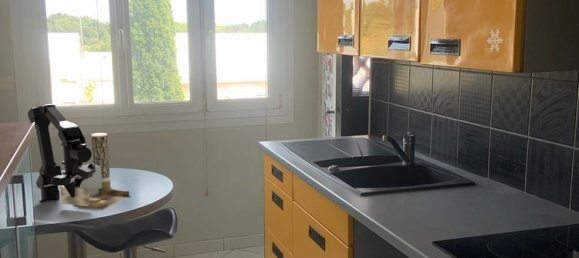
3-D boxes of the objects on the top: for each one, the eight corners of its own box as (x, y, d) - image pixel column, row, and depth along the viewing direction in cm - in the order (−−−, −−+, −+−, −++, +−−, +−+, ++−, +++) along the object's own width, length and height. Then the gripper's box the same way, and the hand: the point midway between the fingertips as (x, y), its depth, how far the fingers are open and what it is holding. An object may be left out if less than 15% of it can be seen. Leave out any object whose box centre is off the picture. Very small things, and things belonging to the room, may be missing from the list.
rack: (72, 207, 238) (72, 201, 238) (101, 194, 257) (100, 188, 256) (102, 210, 234) (102, 204, 234) (129, 197, 253) (129, 190, 252)
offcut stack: (74, 205, 238) (73, 198, 238) (80, 202, 242) (79, 195, 242) (102, 208, 235) (101, 201, 234) (108, 205, 239) (107, 198, 238)
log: (105, 191, 261) (102, 136, 256) (91, 191, 262) (88, 135, 257) (113, 187, 267) (110, 133, 263) (99, 186, 268) (96, 132, 264)
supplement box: (103, 193, 257) (101, 165, 255) (87, 197, 252) (85, 168, 250) (94, 190, 262) (92, 163, 260) (78, 194, 257) (76, 166, 255)
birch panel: (61, 203, 234) (59, 186, 233) (63, 202, 236) (62, 185, 235) (87, 206, 231) (86, 188, 230) (89, 205, 233) (88, 187, 231)
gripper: (74, 165, 219) (77, 205, 222) (103, 154, 237) (106, 192, 239) (49, 163, 222) (52, 203, 225) (80, 152, 240) (82, 189, 243)
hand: (74, 196), depth 233 cm, fingers closed on birch panel, 2 cm apart
